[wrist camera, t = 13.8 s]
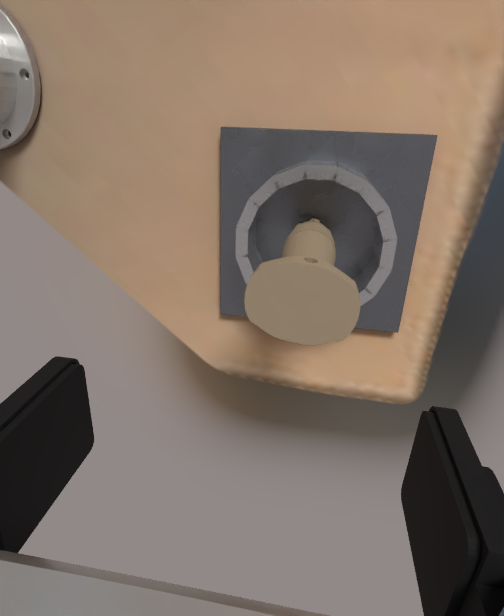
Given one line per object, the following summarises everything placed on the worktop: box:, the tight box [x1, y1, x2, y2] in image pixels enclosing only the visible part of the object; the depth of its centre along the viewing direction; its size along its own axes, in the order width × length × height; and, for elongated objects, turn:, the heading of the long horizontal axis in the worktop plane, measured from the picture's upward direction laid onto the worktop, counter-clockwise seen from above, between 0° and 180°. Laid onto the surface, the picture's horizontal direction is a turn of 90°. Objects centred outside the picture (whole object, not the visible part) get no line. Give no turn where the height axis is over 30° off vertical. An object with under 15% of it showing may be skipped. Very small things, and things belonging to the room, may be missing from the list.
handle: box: [244, 218, 360, 345], centre depth 30 cm, size 5×6×15 cm
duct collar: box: [221, 127, 437, 333], centre depth 35 cm, size 17×17×5 cm
